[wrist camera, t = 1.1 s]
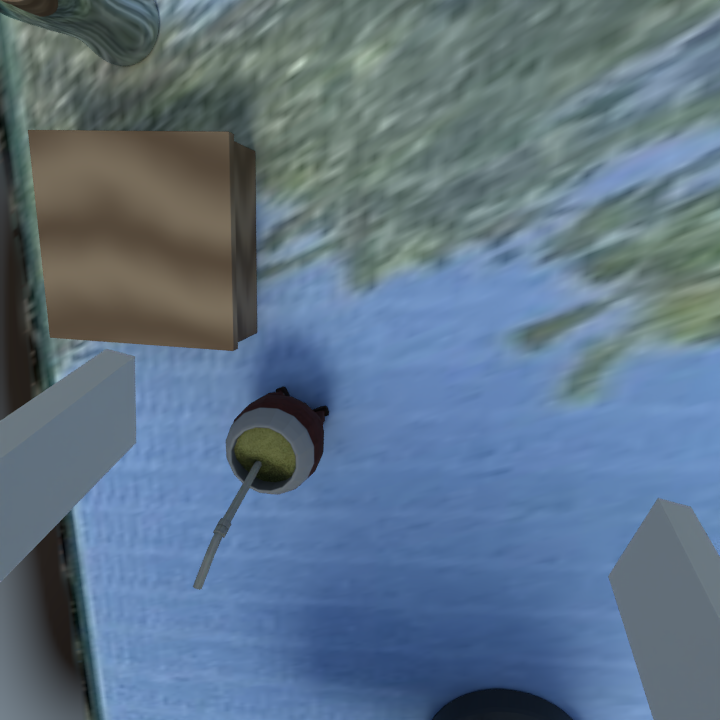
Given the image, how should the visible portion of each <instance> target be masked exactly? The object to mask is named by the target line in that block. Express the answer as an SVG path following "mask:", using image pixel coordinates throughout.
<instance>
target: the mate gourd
mask: <svg viewBox="0 0 720 720" xmlns="http://www.w3.org/2000/svg"><path fill="white" fill-rule="evenodd" d="M327 415H329V410H328V408H327V406H322V407H319V408H316V409H313V410H312V409H311V408H310V407H309V406H308V405H307V404H306V403H304V402H302V401H300V400H297V399H295V398H293V397H291V396H289V393H288V391H287V389H286V387H281V388H278V389H276V392H273V393H268V394H266V395H265V396H263V397H261V398H259V399H258V400H256V401H254V402H252V403H251V404H249V405H248V406H247V407H246V408H245V409H244V410H243V411H242V412H241V413H240V414H239V415H238V416H237V418H236V419H235V420H234V423H233V424H232V426H231V428H230V431H229V433H228V436H227V439H226V455H227V460H228V462H229V464H230V467H231V469H232V471H233V473H234V475H235V476H236V477H237V478H238V479H239V480H240V481H241V482H242V483H243V484H242V486H241V488H240V490H239V491H238V493H237V495H236V497H235V498H234V500H233V502H232V504H231V505H230V507H229V509H228V510H227V512H226V514H225V516H224V517H223V518H221V519H220V521H219V522H218V524H217V526H216V528H215V530H214V532H213V533H214V536H213V538H212V540H211V542H210V545H209V547H208V549H207V552H206V554H205V557H204V559H203V562H202V564H201V567H200V570H199V572H198V575H197V577H196V580H195V583H194V585H193V587H194V588H196V589H202V586H203V584H204V581H205V579H206V576H207V573H208V571H209V568H210V566H211V563H212V561H213V558H214V555H215V553H216V551H217V548H218V546H219V544H220V541H221V539H222V537H225V536H226V534H227V532H228V530H229V528H230V526H231V520H232V518H233V517H234V515H235V513H236V511H237V509H238V508H239V506H240V504H241V502H242V500H243V499H244V497H245V495H246V493H247V491H248V490H249V488H251V489H253V490H255V491H257V492H259V493H267V494H281V493H285V492H288V491H291V490H294V489H296V488H297V487H298V486H300V485H301V484H302V483H303V482H304V481H305V480H306V479H307V478H308V477H309V476H311V475H312V474H313V473H314V471H315V470H316V468H317V466H318V464H319V461H320V459H321V457H322V454H323V444H324V429H323V424H324V421H325V416H327Z"/></svg>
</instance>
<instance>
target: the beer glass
mask: <svg viewBox="0 0 720 720" xmlns="http://www.w3.org/2000/svg"><path fill="white" fill-rule="evenodd" d="M0 13H2V14H4V15H6V16H8V17H10V18H13V19H16V20H19V21H22V22H24V23H27V24H30V25H33V26H37V27H40V28H44V29H47V30H51V31H55V32H58V33H62V34H66V35H69V36H72V37H75V38H77V39H79V40H80V41H82V42H83V43H84V44H86V45H87V46H88V47H89V48H90V49H91V50H92V51H93V52H94V53H96V54H97V55H98V56H99V57H101V58H102V59H103V60H105V61H107V62H109V63H111V64H114V65H118V66H130V65H134V64H136V63H138V62H140V61H142V60H143V59H144V58H145V57H146V56H147V55H148V54H149V53H150V52H151V50H152V49H153V47H154V45H155V42H156V40H157V36H158V31H159V15H158V10H157V6H156V4H155V1H154V0H0Z"/></svg>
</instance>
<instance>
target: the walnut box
mask: <svg viewBox="0 0 720 720" xmlns="http://www.w3.org/2000/svg"><path fill="white" fill-rule="evenodd" d="M28 135H29V144H30V154H31V163H32V173H33V182H34V191H35V201H36V210H37V219H38V229H39V238H40V248H41V257H42V266H43V276H44V285H45V295H46V304H47V313H48V323H49V332H50V338H63V339H77V340H90V341H104V342H118V343H132V344H145V345H159V346H173V347H187V348H200V349H214V350H228V351H234V350H236V349H238V342H240V341H242V340H244V339H246V338H248V337H250V336H252V335H254V334H256V333H257V271H256V174H255V151H253V150H251V149H249V148H247V147H245V146H243V145H241V144H239V143H237V142H235V141H234V134H232V133H230V132H206V131H85V130H28Z"/></svg>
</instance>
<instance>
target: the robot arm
mask: <svg viewBox="0 0 720 720" xmlns="http://www.w3.org/2000/svg"><path fill="white" fill-rule="evenodd" d="M135 443H136V404H135V356H131V355H127V354H124V353H120V352H116V351H112V350H109V349H106V350H104V351H103V352H101V353H100V354H98V355H97V356H95V357H94V358H92V359H91V360H89V361H88V362H86V363H85V364H84V365H82V366H81V367H79V368H78V369H76V370H75V371H73V372H72V373H70V374H69V375H67V376H66V377H64V378H63V379H61V380H60V381H58V382H57V383H56V384H54V385H53V386H51V387H50V388H48V389H47V390H45V391H44V392H42V393H41V394H39V395H38V396H36V397H35V398H33V399H32V400H31V401H29V402H28V403H26V404H25V405H23V406H22V407H20V408H19V409H17V410H16V411H14V412H13V413H12V414H10V415H9V416H7V417H6V418H4V419H3V420H1V421H0V582H1V581H2V580H3V579H4V578H5V577H6V576H7V575H8V574H9V573H10V572H11V571H12V570H13V569H14V568H15V567H16V565H18V564H19V563H20V562H21V561H22V560H23V558H24V557H26V555H27V554H28V553H29V552H30V551H31V550H32V549H33V548H34V547H35V546H36V545H37V544H38V543H39V542H40V541H41V540H42V539H43V538H44V537H45V536H46V535H47V534H48V533H49V532H50V531H51V530H52V529H53V528H54V527H55V526H56V525H57V524H58V523H59V522H60V520H61V519H62V518H63V517H64V516H65V515H66V514H67V513H68V512H69V511H70V510H71V509H72V508H73V507H74V506H75V505H76V504H77V503H78V502H79V501H80V500H81V499H82V498H83V497H84V496H85V495H86V494H87V493H88V492H89V491H90V490H91V489H92V488H93V487H94V485H95V484H96V483H97V482H98V481H99V480H100V479H101V478H102V477H103V476H104V475H105V474H106V473H107V472H108V471H109V470H110V469H111V468H112V467H113V466H114V465H115V464H116V463H117V462H118V461H119V460H120V459H121V458H122V457H123V456H124V455H125V454H126V453H127V452H128V450H129V449H130V448H131V447H132V446H133V445H134V444H135ZM608 577H609V580H610V583H611V586H612V589H613V592H614V596H615V599H616V602H617V605H618V608H619V611H620V615H621V618H622V621H623V624H624V627H625V630H626V634H627V637H628V640H629V643H630V646H631V649H632V653H633V656H634V659H635V662H636V665H637V669H638V672H639V675H640V678H641V681H642V684H643V688H644V691H645V694H646V697H647V700H648V703H649V707H650V710H651V713H652V716H653V719H654V720H720V556H719V555H718V553H717V551H716V550H715V548H714V546H713V544H712V543H711V541H710V539H709V537H708V536H707V534H706V532H705V530H704V529H703V527H702V525H701V524H700V522H699V520H698V518H697V517H696V515H695V513H694V511H693V510H692V508H691V507H689V506H686V505H682V504H678V503H674V502H671V501H667V500H663V499H660V498H658V499H657V500H656V502H655V504H654V505H653V507H652V508H651V510H650V511H649V513H648V515H647V516H646V518H645V519H644V521H643V522H642V524H641V526H640V527H639V529H638V530H637V532H636V533H635V535H634V537H633V538H632V540H631V541H630V543H629V544H628V546H627V548H626V549H625V551H624V552H623V554H622V555H621V557H620V559H619V560H618V562H617V563H616V565H615V566H614V568H613V570H612V571H611V573H610V574H609V576H608ZM433 720H572V719H571V718H570V717H569V716H568V715H567V714H566V713H565V712H563V711H562V710H561V709H559V708H558V707H556V706H555V705H553V704H551V703H550V702H548V701H546V700H543V699H541V698H539V697H536V696H533V695H530V694H527V693H523V692H518V691H512V690H483V691H478V692H473V693H470V694H467V695H464V696H461V697H459V698H457V699H455V700H453V701H452V702H450V703H449V704H447V705H446V706H444V707H443V708H442V709H441V710H440V711H439V712H438V713H437V714H436V716H435V717H434V718H433Z"/></svg>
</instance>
